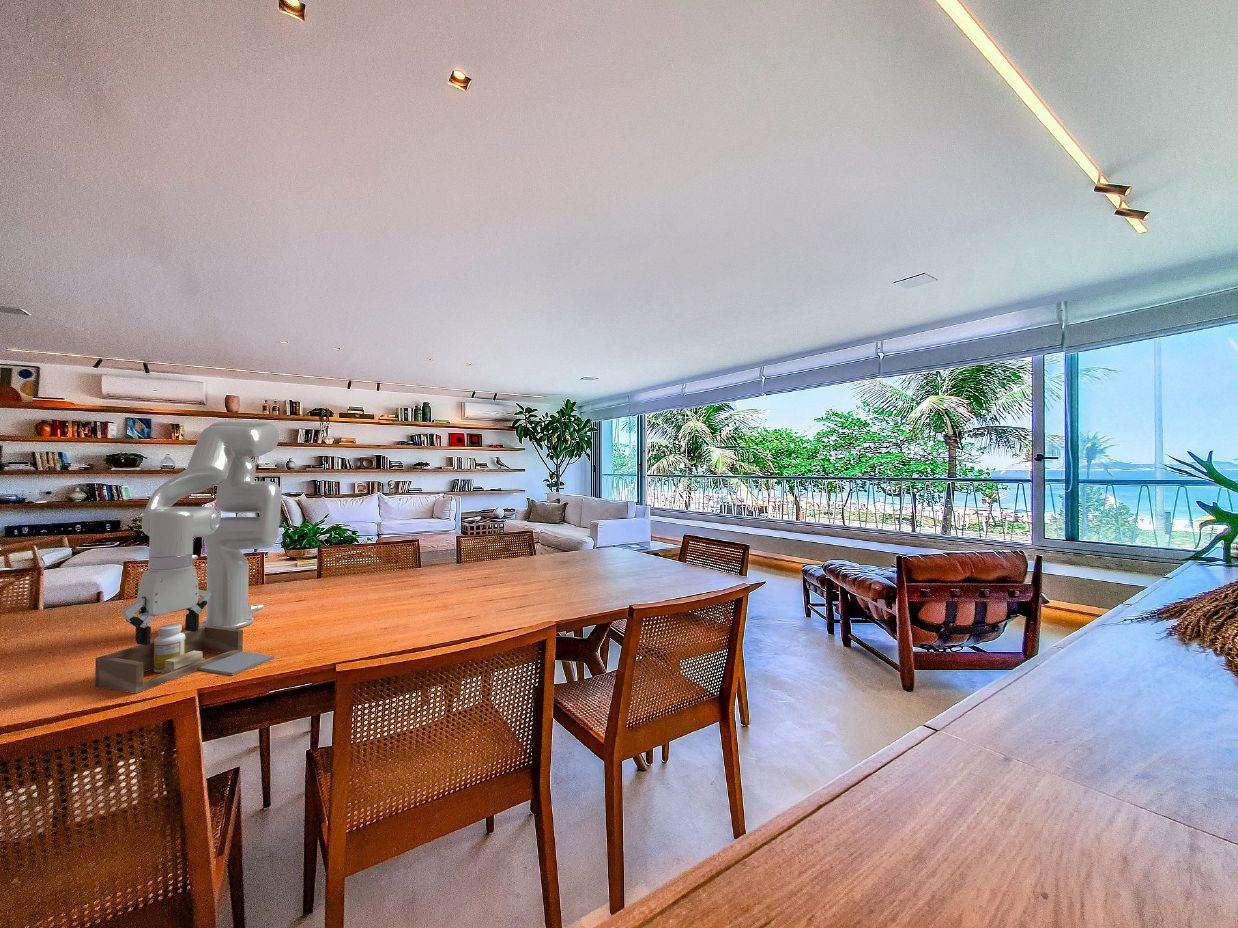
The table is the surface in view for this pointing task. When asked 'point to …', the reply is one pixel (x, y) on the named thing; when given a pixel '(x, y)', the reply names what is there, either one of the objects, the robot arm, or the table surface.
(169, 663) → the offcut upper
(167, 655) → the supplement bottle
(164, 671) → the offcut lower
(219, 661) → the mat
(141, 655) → the frame
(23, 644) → the table surface
